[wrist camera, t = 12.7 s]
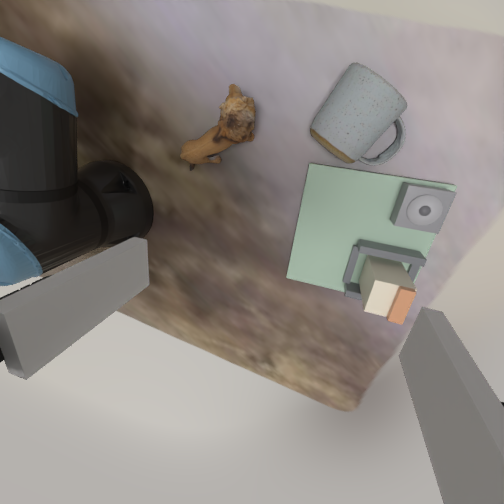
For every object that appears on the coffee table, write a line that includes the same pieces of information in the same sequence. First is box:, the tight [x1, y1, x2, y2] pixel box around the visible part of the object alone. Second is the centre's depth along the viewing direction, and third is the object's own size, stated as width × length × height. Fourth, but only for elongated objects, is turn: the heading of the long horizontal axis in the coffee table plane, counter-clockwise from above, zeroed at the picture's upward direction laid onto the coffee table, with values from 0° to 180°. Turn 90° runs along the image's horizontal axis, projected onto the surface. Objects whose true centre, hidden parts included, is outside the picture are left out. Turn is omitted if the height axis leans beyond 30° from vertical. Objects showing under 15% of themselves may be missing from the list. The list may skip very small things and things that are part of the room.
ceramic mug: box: [310, 63, 407, 166], centre depth 30 cm, size 11×8×8 cm
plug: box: [359, 255, 417, 324], centre depth 34 cm, size 4×4×9 cm
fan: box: [390, 182, 456, 234], centre depth 32 cm, size 5×5×4 cm
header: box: [343, 239, 426, 300], centre depth 37 cm, size 9×8×3 cm
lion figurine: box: [180, 84, 255, 171], centre depth 35 cm, size 15×5×9 cm, turn 127°
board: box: [286, 163, 457, 292], centre depth 38 cm, size 18×18×1 cm
